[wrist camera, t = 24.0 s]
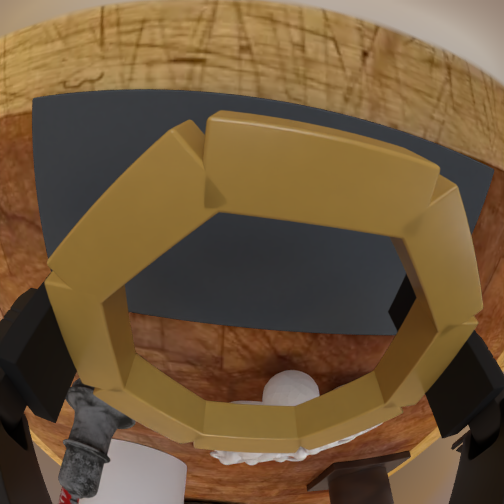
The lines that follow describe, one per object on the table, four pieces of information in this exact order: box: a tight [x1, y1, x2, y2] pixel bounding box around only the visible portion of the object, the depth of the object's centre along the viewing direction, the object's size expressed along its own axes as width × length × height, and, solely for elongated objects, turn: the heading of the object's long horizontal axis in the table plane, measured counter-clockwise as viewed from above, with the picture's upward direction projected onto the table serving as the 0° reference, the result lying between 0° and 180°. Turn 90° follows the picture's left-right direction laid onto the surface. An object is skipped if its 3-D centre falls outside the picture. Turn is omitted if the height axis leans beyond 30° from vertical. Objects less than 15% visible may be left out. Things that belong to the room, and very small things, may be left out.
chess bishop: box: [58, 378, 135, 504], centre depth 16 cm, size 6×6×12 cm
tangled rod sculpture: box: [210, 370, 382, 465], centre depth 23 cm, size 19×14×4 cm
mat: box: [32, 89, 494, 335], centre depth 14 cm, size 24×12×1 cm, turn 82°
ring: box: [45, 110, 483, 453], centre depth 8 cm, size 12×12×2 cm
